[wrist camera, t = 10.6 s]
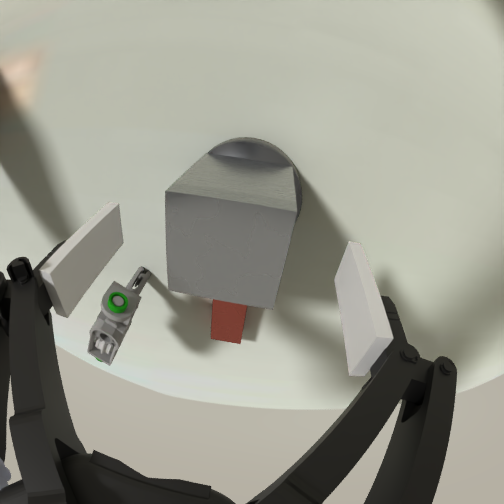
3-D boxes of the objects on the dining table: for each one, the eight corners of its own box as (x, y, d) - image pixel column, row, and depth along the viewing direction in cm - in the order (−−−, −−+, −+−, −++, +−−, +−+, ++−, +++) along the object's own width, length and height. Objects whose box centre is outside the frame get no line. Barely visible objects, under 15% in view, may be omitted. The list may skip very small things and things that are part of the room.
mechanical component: (172, 246, 27) (130, 319, 19) (143, 304, 32) (110, 369, 24) (147, 231, 26) (96, 299, 18) (122, 292, 32) (85, 354, 23)
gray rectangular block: (206, 153, 20) (165, 191, 13) (292, 166, 20) (297, 211, 13) (200, 227, 23) (168, 290, 17) (277, 240, 23) (272, 309, 16)
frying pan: (197, 131, 21) (157, 154, 14) (310, 148, 21) (324, 178, 14) (191, 320, 33) (172, 374, 26) (266, 333, 32) (260, 391, 26)
